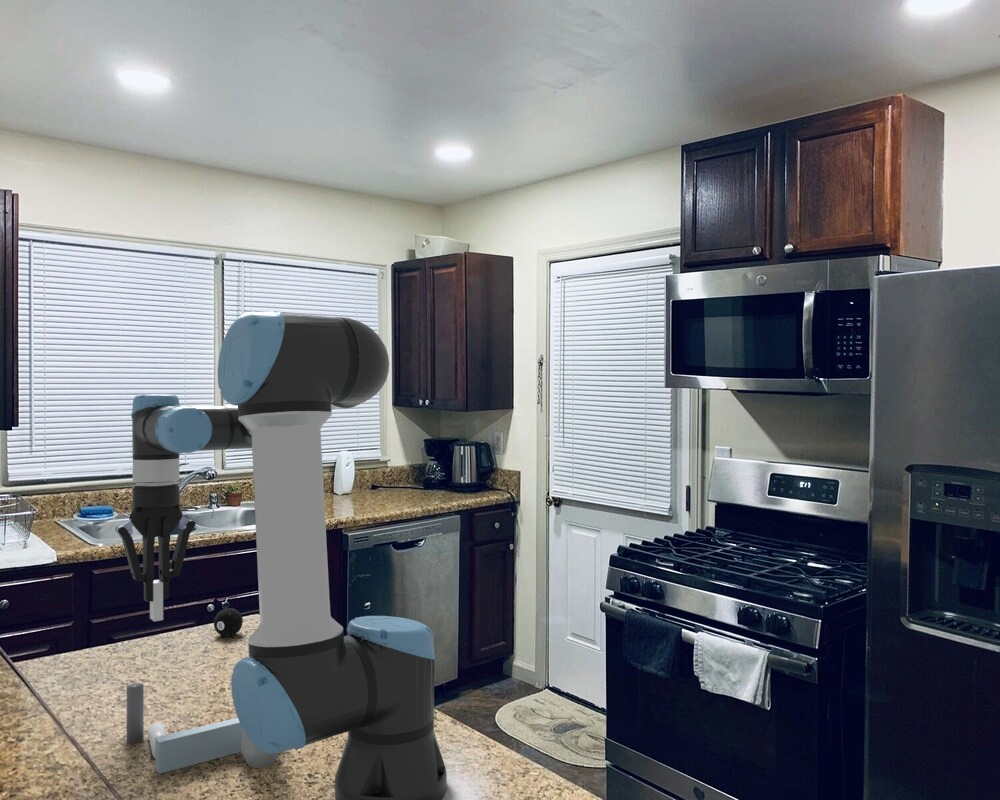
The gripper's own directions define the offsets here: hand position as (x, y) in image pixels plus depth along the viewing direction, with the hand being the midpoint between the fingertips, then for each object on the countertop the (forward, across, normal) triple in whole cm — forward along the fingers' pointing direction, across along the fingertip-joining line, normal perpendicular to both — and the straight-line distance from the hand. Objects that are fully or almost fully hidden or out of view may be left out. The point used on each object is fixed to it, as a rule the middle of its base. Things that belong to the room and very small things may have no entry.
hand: (156, 618), depth 139 cm
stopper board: (+15, -3, +26) cm, 30 cm away
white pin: (+14, +4, +13) cm, 20 cm away
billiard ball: (+15, -24, -33) cm, 43 cm away
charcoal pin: (+15, +6, +13) cm, 21 cm away
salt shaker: (+15, -7, +32) cm, 36 cm away
